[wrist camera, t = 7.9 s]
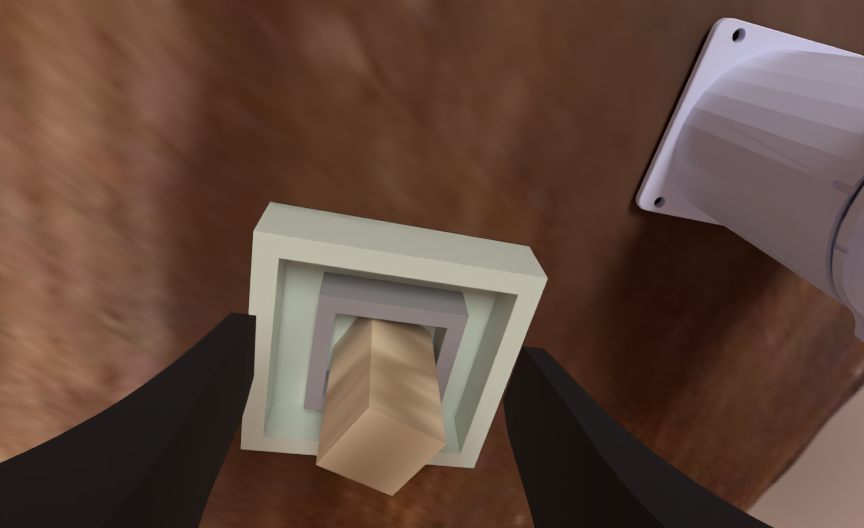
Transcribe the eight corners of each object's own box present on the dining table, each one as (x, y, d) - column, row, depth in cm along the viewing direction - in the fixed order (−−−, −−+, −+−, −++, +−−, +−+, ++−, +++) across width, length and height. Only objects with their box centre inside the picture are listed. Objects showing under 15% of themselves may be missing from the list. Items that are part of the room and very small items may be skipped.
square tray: (528, 246, 23) (547, 278, 20) (465, 424, 28) (473, 468, 26) (270, 202, 21) (253, 230, 18) (254, 404, 26) (240, 449, 24)
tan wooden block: (431, 331, 24) (446, 444, 18) (390, 376, 25) (391, 496, 19) (373, 298, 23) (369, 406, 17) (333, 346, 24) (315, 464, 18)
